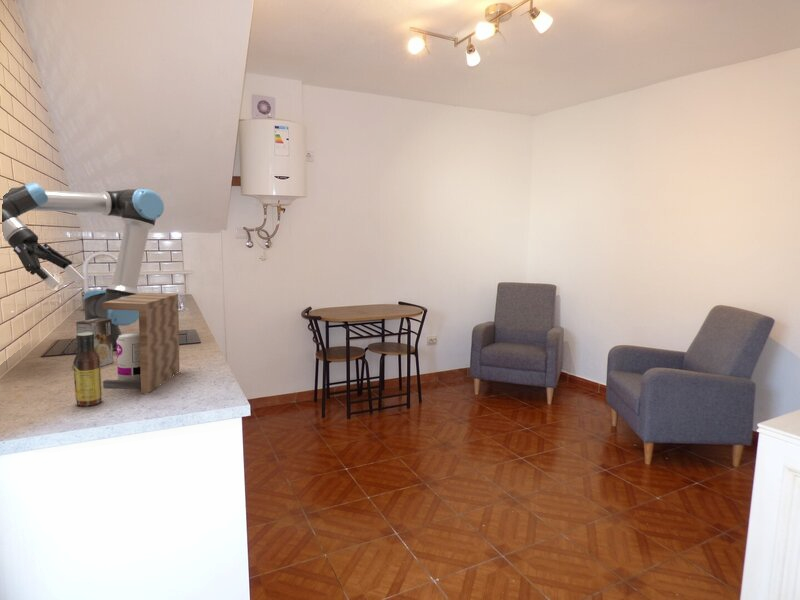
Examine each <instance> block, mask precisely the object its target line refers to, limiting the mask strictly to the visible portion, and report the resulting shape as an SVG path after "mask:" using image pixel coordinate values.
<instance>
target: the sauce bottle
mask: <svg viewBox="0 0 800 600" xmlns="http://www.w3.org/2000/svg"><path fill="white" fill-rule="evenodd" d="M75 339H76V341H78V343H77V351H76V354H75V358H74V360H73V364H72V365H73V379H74V383H73V384H74V395H75V401H76V404H77V406H79V405H80V406H82V407H90V406H89V405H92V406H95V405H98V404H100V403H101V402H102V399H103V398H102V396H103V390H102V389H103V388H102V387H103V384H102V373H101V371H102V370H101V367H100V358H99V355H98V354H97V353H96V351H95V350H94V341H93V339H94V333H92V332H84V333H78V334H77V333H76V338H75Z"/></svg>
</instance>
